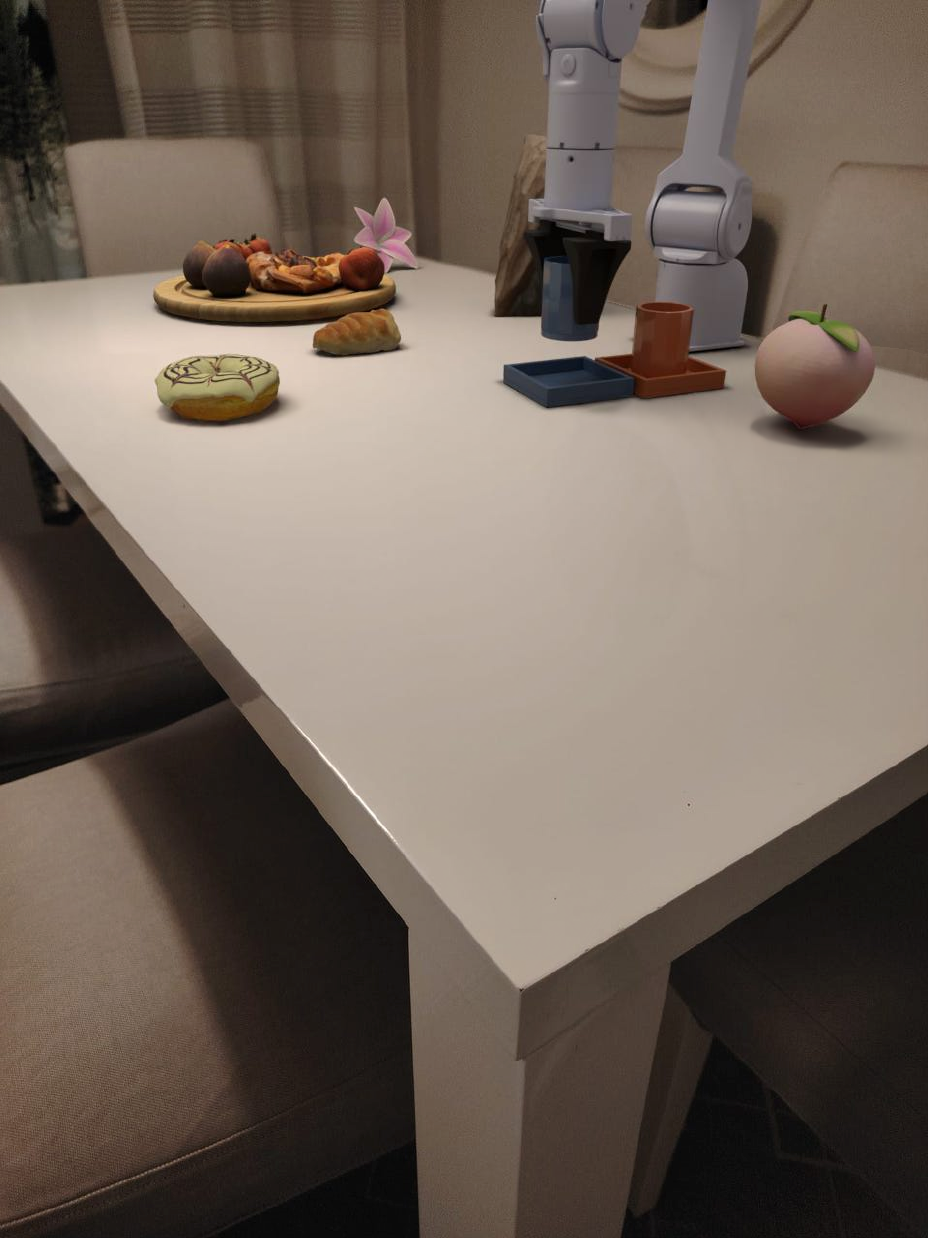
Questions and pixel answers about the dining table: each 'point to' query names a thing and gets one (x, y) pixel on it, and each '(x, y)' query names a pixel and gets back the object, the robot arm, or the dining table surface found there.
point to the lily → (385, 235)
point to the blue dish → (567, 381)
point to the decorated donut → (218, 386)
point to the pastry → (359, 333)
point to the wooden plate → (273, 283)
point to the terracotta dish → (669, 377)
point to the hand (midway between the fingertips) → (570, 316)
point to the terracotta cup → (661, 339)
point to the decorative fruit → (813, 368)
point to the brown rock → (521, 236)
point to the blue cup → (561, 304)
